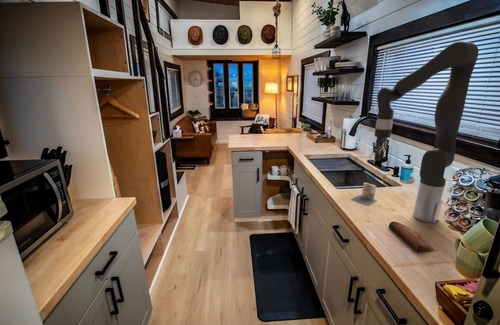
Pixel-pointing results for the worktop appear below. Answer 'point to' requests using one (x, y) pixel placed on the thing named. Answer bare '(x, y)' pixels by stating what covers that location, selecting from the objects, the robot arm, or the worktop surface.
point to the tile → (368, 191)
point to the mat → (363, 200)
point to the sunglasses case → (411, 237)
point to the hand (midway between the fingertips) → (378, 159)
